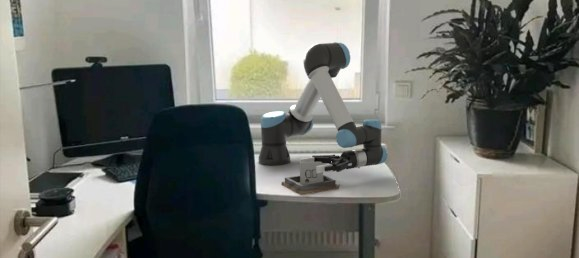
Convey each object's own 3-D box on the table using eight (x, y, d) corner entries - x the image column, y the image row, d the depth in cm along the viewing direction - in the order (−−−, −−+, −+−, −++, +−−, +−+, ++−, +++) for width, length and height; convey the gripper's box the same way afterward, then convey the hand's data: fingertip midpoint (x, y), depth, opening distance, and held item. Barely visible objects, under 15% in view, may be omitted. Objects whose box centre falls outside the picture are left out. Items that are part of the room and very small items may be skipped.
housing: (281, 184, 228) (281, 177, 228) (317, 178, 236) (317, 171, 235) (301, 195, 213) (301, 187, 213) (339, 188, 221) (339, 180, 221)
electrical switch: (300, 186, 221) (299, 163, 220) (299, 184, 226) (298, 161, 225) (323, 185, 222) (323, 162, 221) (321, 183, 227) (321, 160, 226)
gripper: (370, 174, 222) (324, 182, 212) (337, 161, 244) (293, 168, 234) (370, 156, 220) (324, 163, 211) (337, 144, 242) (293, 150, 233)
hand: (308, 166), depth 223 cm, fingers open, 13 cm apart
